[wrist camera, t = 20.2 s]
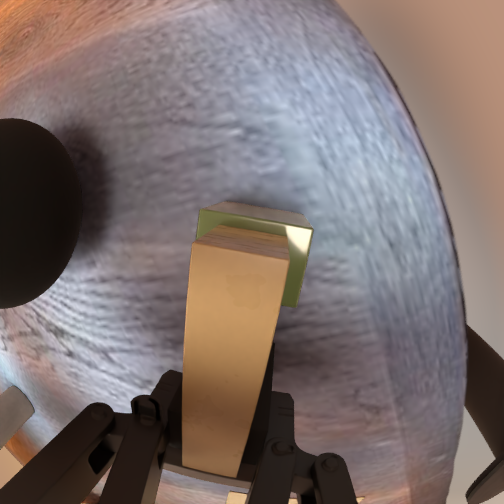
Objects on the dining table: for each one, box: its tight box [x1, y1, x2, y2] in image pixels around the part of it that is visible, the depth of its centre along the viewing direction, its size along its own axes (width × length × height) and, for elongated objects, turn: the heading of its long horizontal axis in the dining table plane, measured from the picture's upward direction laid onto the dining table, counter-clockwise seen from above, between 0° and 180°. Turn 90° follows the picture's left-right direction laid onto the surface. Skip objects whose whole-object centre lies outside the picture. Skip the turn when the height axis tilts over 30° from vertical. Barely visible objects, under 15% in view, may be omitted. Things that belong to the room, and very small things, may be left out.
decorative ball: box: [0, 118, 82, 309], centre depth 10 cm, size 10×10×10 cm
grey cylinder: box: [0, 386, 34, 450], centre depth 17 cm, size 4×4×10 cm
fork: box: [163, 225, 290, 489], centre depth 13 cm, size 19×5×8 cm, turn 171°
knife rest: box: [196, 201, 314, 308], centre depth 12 cm, size 4×3×4 cm
